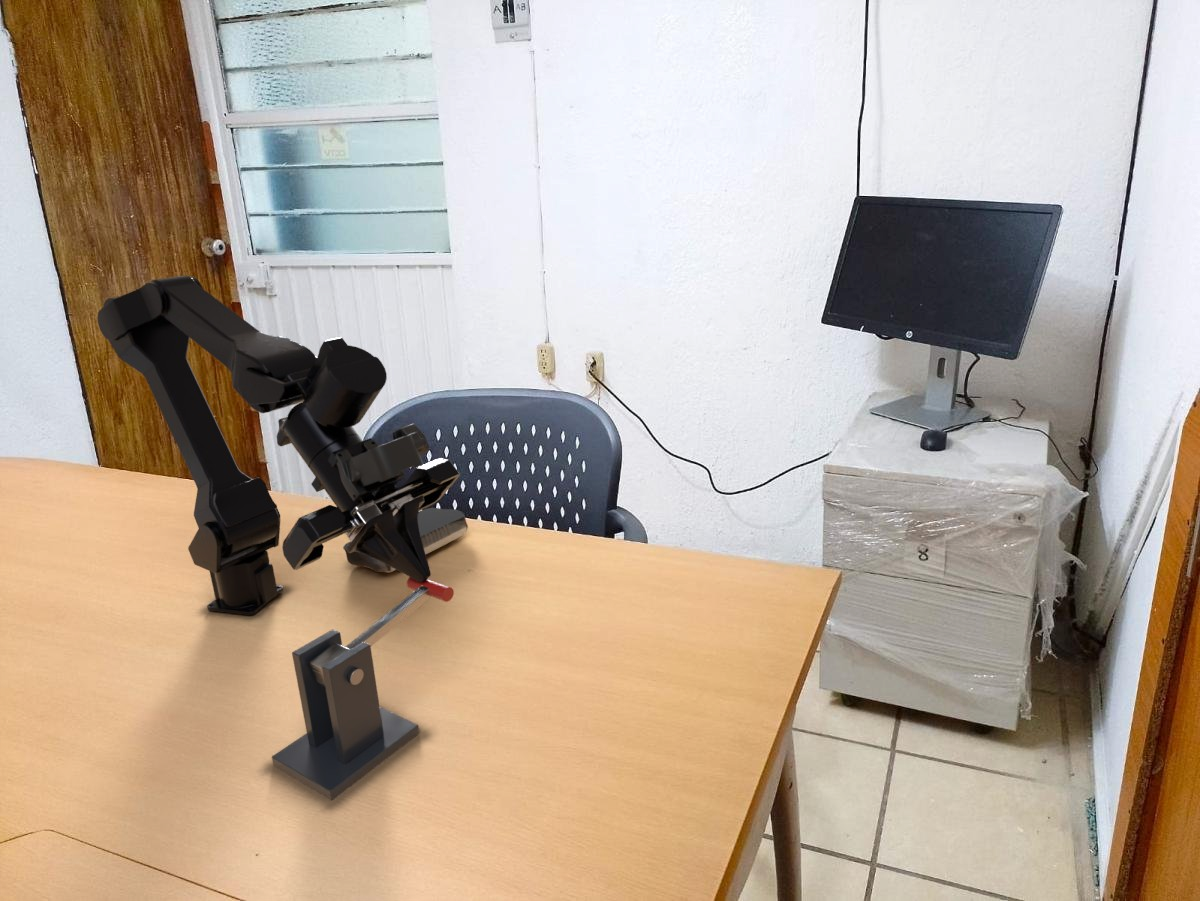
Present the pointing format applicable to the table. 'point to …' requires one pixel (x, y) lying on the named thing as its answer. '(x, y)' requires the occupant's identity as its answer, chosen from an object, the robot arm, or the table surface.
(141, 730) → the table surface
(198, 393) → the robot arm
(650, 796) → the table surface
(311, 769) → the bracket
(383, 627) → the lever
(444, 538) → the whiteboard eraser
